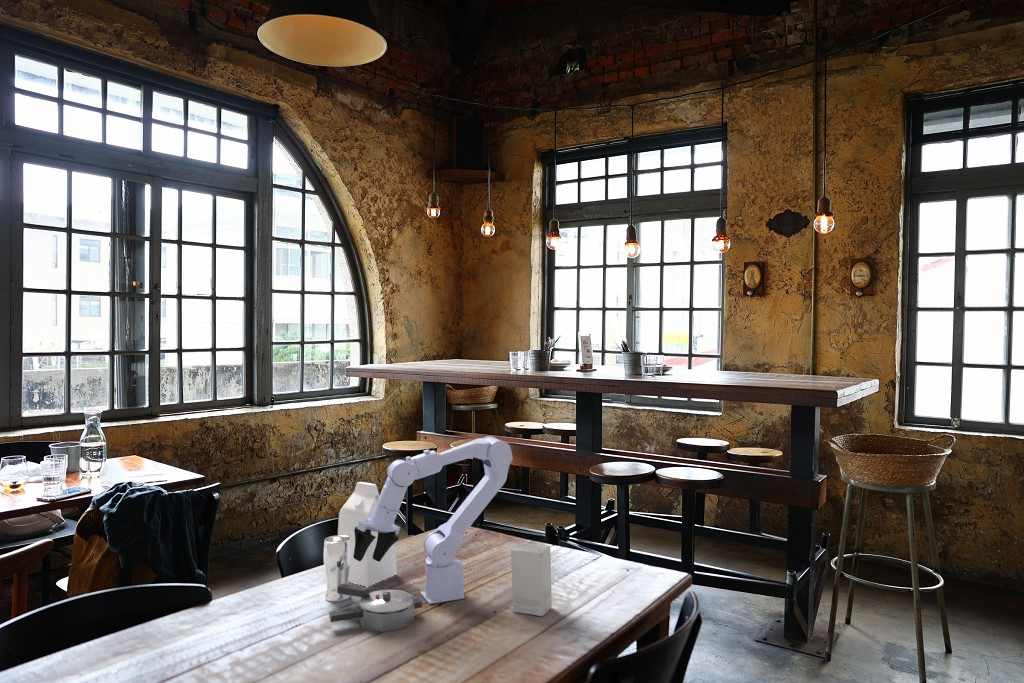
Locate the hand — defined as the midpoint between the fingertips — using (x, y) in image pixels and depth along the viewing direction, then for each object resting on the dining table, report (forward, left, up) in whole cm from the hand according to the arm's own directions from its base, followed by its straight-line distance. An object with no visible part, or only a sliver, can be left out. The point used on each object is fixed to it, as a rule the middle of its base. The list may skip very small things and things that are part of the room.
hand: (366, 559), depth 175 cm
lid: (0, +7, -8) cm, 11 cm away
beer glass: (+5, -9, -12) cm, 16 cm away
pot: (0, +10, -12) cm, 15 cm away
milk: (-5, -21, -12) cm, 25 cm away
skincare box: (-37, +18, -12) cm, 42 cm away
